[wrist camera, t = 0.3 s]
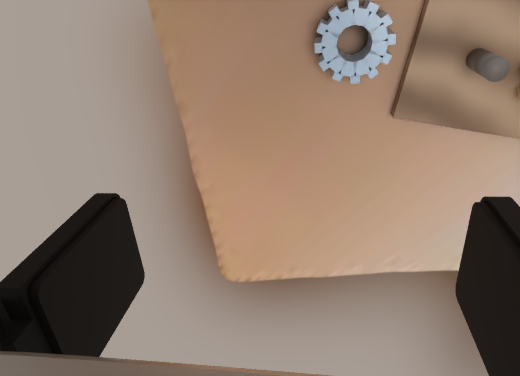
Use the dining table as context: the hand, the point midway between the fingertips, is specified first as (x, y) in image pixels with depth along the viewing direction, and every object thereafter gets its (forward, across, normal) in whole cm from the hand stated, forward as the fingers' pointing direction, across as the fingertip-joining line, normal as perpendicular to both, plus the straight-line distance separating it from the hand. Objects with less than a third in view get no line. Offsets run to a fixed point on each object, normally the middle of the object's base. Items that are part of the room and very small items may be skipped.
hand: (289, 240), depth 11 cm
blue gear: (+34, -4, -1) cm, 34 cm away
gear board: (+34, -20, +2) cm, 40 cm away
